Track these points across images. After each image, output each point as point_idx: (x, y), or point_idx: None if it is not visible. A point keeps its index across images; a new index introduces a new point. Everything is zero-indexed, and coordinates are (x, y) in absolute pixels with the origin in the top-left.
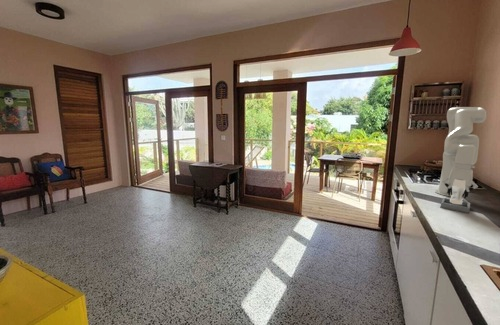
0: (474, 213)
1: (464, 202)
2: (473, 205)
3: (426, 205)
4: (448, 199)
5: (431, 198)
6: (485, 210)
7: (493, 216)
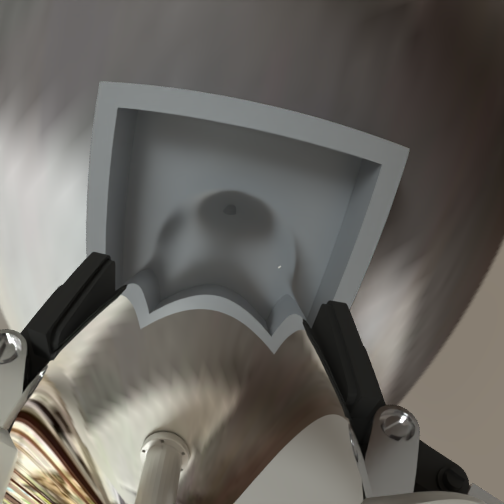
0: (357, 318)
1: (348, 151)
2: (444, 28)
3: (33, 307)
4: (160, 111)
5: (49, 12)
6: (488, 164)
7: (460, 307)
